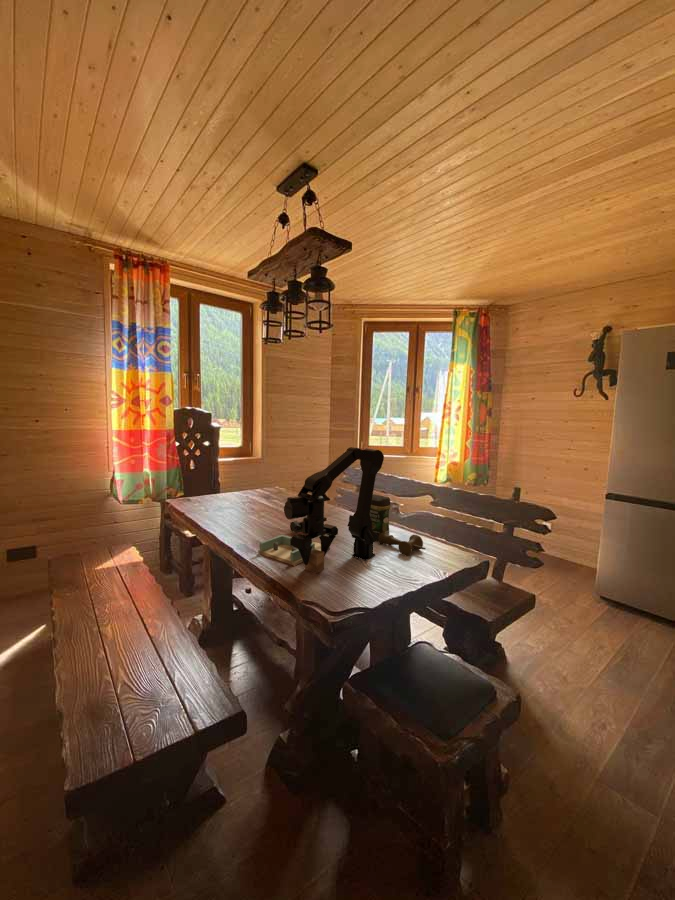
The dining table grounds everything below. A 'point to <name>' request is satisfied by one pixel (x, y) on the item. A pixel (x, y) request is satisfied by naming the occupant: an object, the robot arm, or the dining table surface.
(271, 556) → the board
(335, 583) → the dining table surface
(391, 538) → the kendama
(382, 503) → the coffee jar
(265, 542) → the housing
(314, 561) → the block
